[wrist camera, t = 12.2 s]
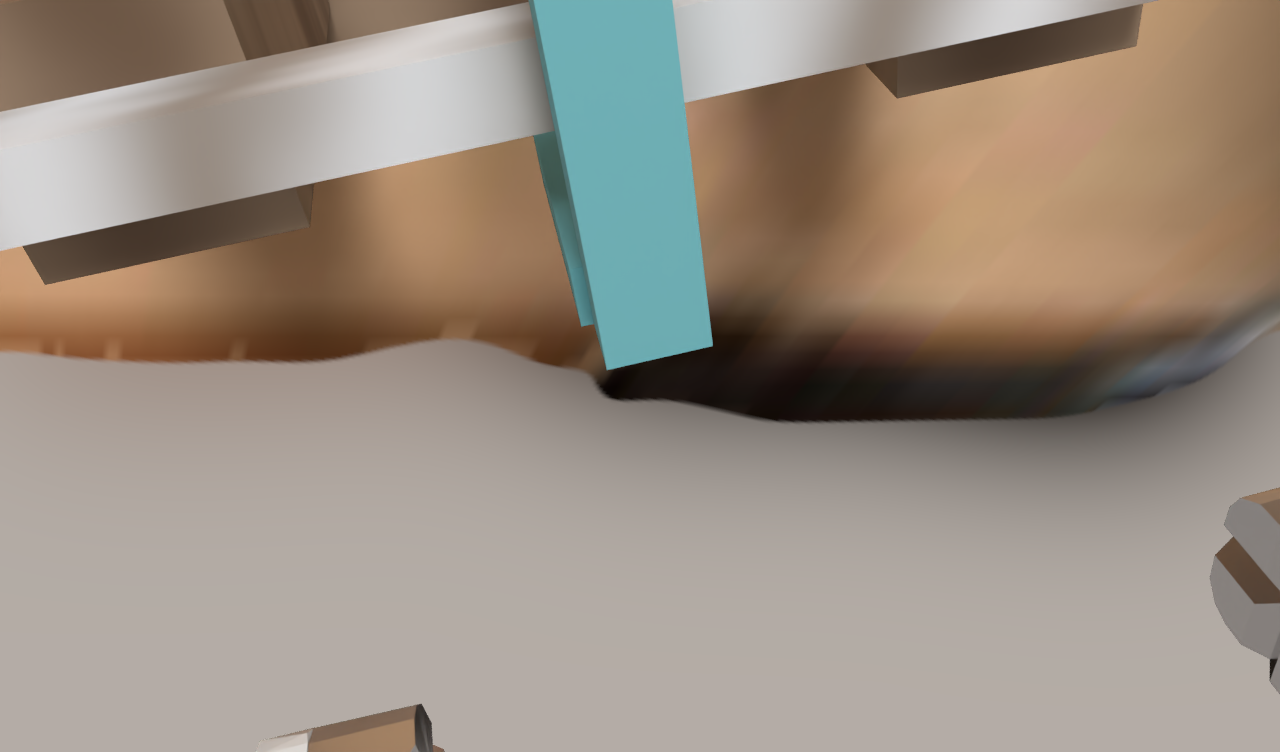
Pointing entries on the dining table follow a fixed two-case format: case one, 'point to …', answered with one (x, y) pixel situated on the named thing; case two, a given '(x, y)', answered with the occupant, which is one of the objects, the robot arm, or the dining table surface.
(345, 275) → the dining table surface
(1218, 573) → the robot arm
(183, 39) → the shelf
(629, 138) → the teal stepped bracket
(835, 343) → the dining table surface
